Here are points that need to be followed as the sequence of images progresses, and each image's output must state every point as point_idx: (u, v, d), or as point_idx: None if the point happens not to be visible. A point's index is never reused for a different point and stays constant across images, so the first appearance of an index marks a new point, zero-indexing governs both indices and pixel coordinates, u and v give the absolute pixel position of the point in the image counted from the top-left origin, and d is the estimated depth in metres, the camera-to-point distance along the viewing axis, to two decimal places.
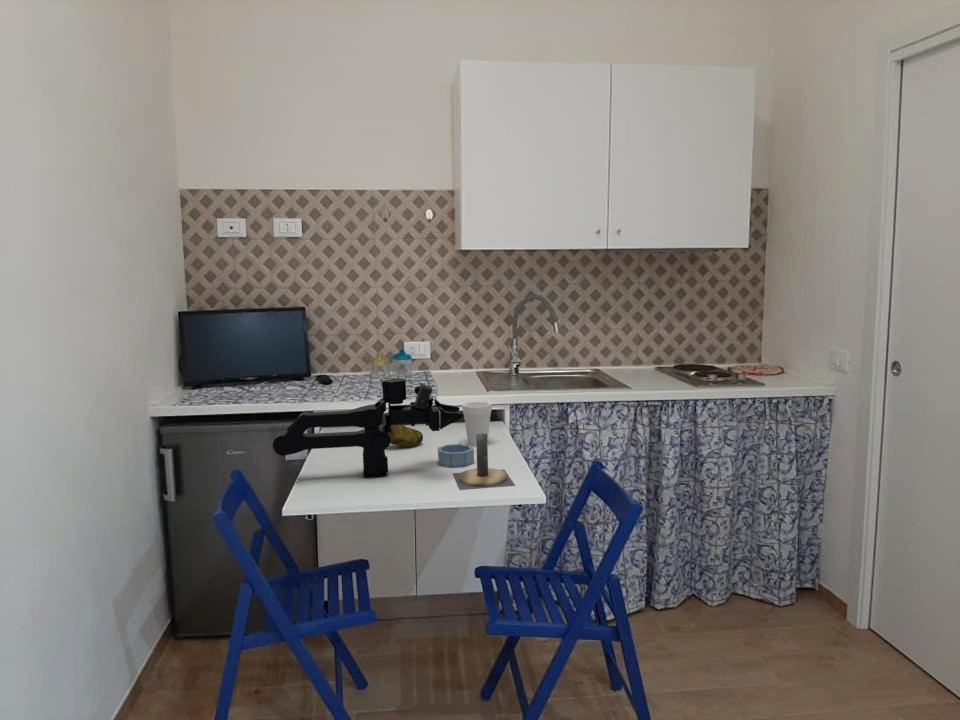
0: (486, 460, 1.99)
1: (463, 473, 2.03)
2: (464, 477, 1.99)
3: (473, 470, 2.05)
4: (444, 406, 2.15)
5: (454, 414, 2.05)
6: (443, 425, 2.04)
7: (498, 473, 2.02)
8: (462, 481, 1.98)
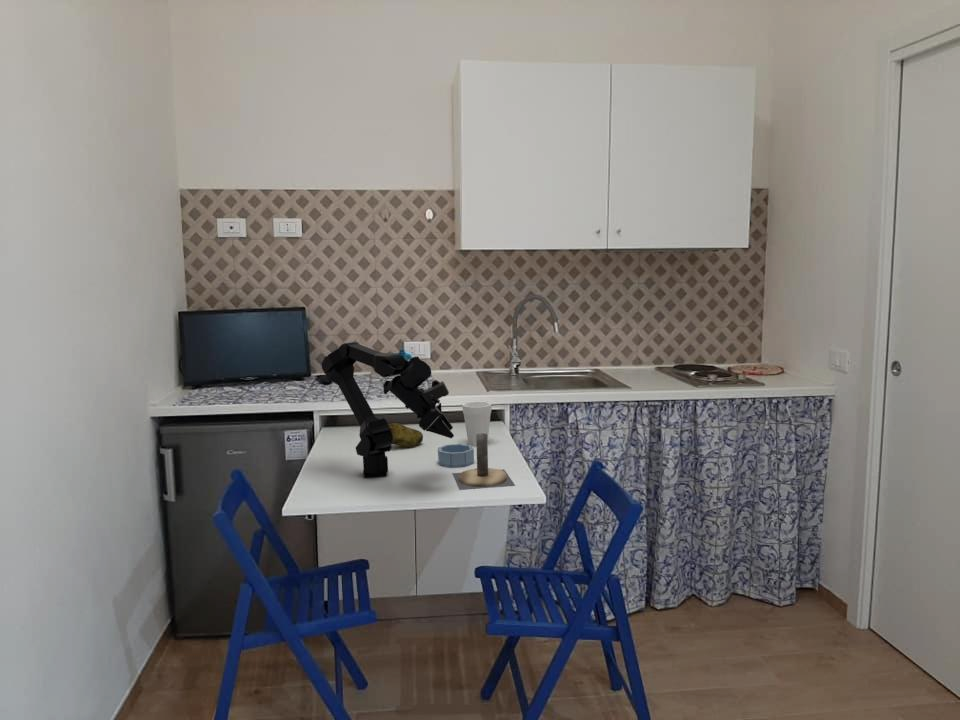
0: (486, 460, 1.99)
1: (463, 473, 2.03)
2: (464, 477, 1.99)
3: (473, 470, 2.05)
4: (442, 416, 2.03)
5: (446, 429, 1.93)
6: (430, 429, 1.92)
7: (498, 473, 2.02)
8: (462, 481, 1.98)
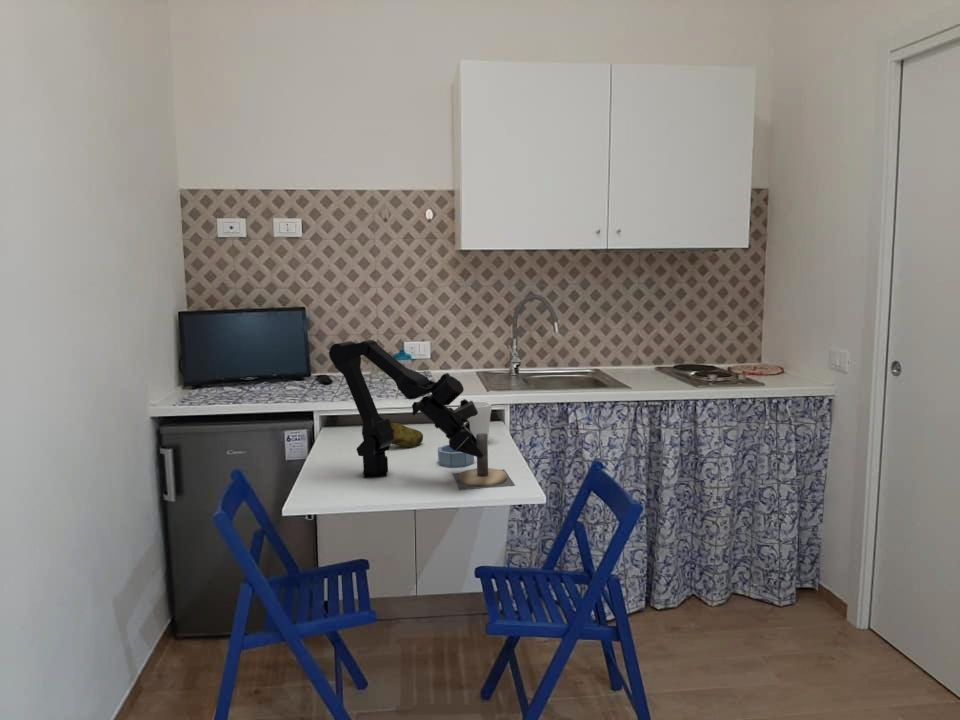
0: (486, 460, 1.99)
1: (463, 473, 2.03)
2: (464, 477, 1.99)
3: (473, 470, 2.05)
4: None
5: (476, 449, 1.94)
6: (460, 449, 1.93)
7: (498, 474, 2.02)
8: (462, 481, 1.98)
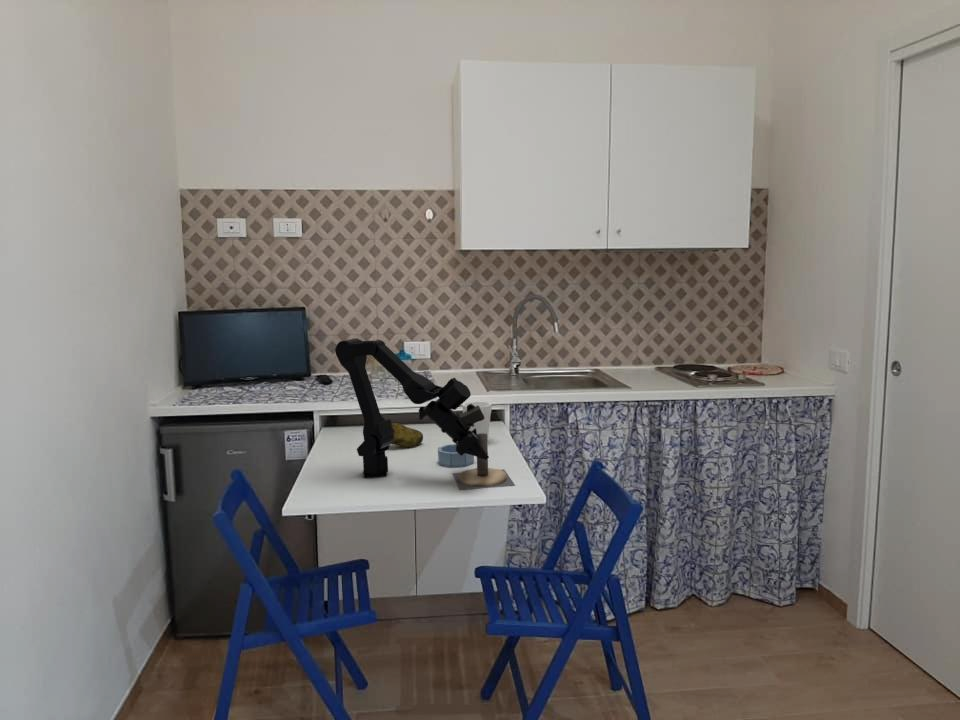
0: (486, 460, 1.99)
1: (463, 473, 2.03)
2: (464, 477, 1.99)
3: (473, 470, 2.05)
4: None
5: (482, 451, 1.97)
6: (466, 451, 1.96)
7: (498, 473, 2.02)
8: (462, 481, 1.98)
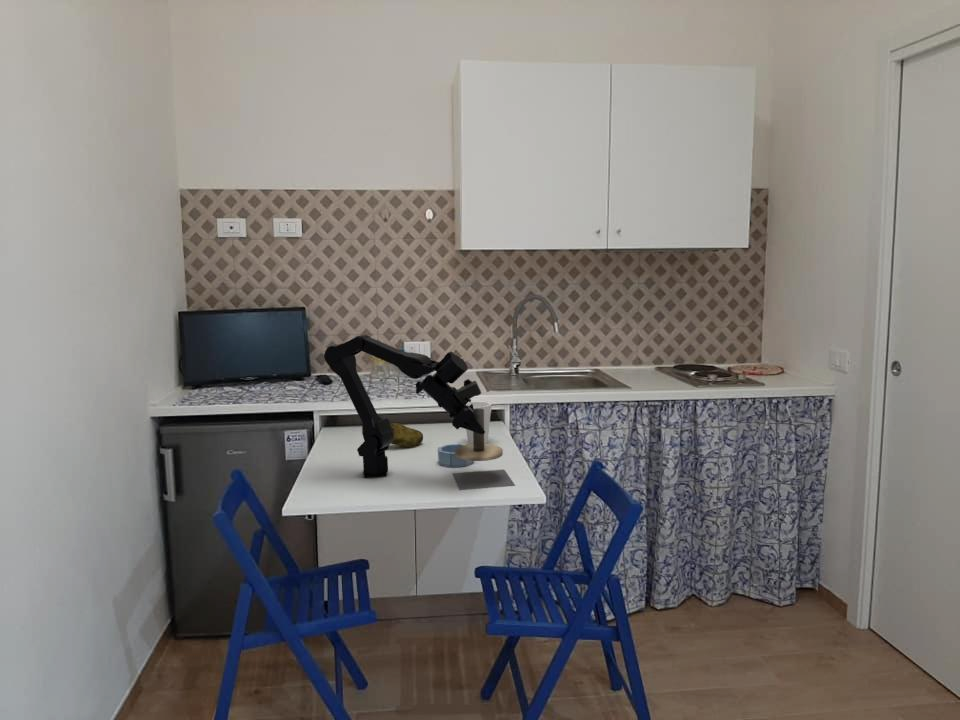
0: (482, 435, 2.00)
1: (460, 448, 2.03)
2: (460, 452, 2.00)
3: (469, 445, 2.06)
4: None
5: (478, 425, 1.98)
6: (462, 425, 1.96)
7: (494, 449, 2.02)
8: (458, 455, 1.98)
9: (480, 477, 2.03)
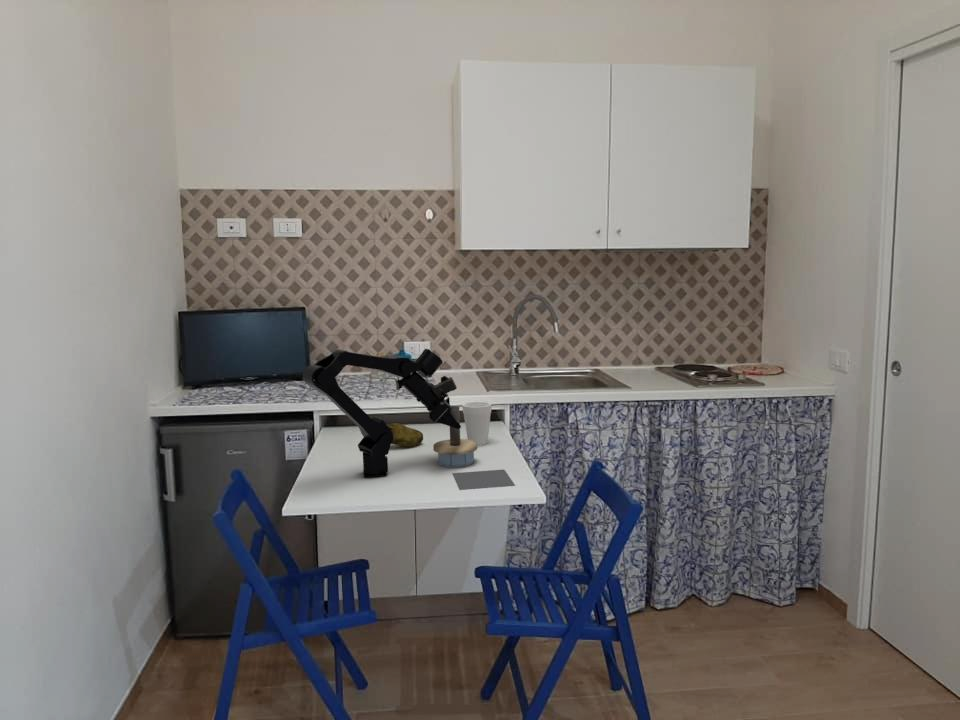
0: (458, 431, 2.16)
1: (437, 443, 2.19)
2: (438, 446, 2.15)
3: (447, 441, 2.21)
4: None
5: (454, 420, 2.11)
6: (440, 421, 2.09)
7: (470, 443, 2.18)
8: (436, 450, 2.14)
9: (480, 477, 2.03)
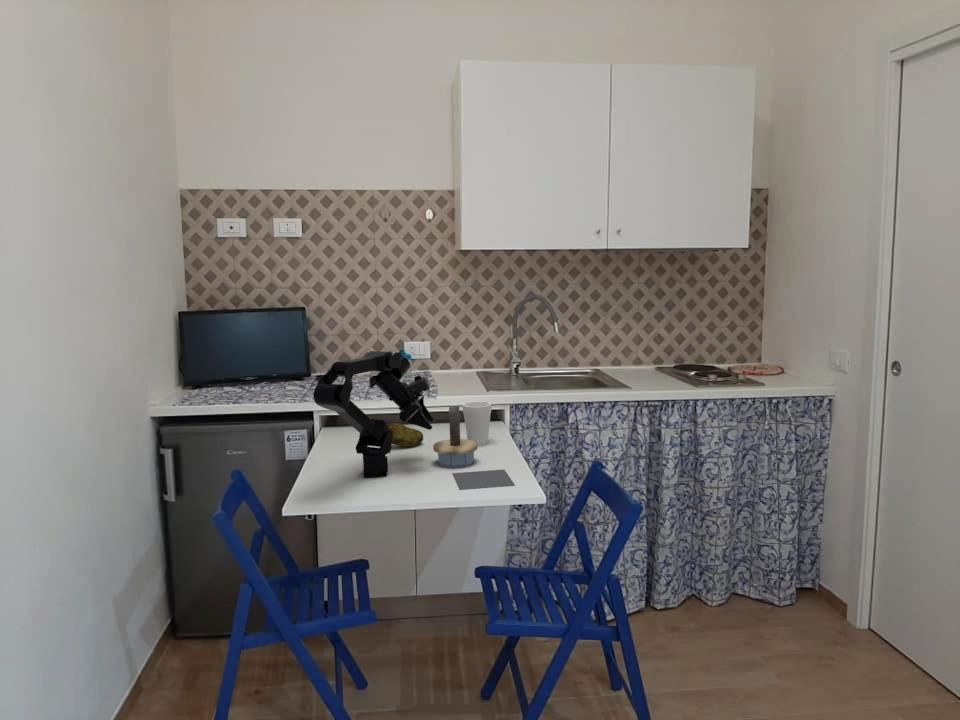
0: (458, 431, 2.16)
1: (437, 443, 2.19)
2: (438, 446, 2.15)
3: (447, 441, 2.21)
4: (424, 408, 2.20)
5: (425, 421, 2.10)
6: (410, 421, 2.09)
7: (470, 443, 2.18)
8: (436, 450, 2.14)
9: (480, 477, 2.03)
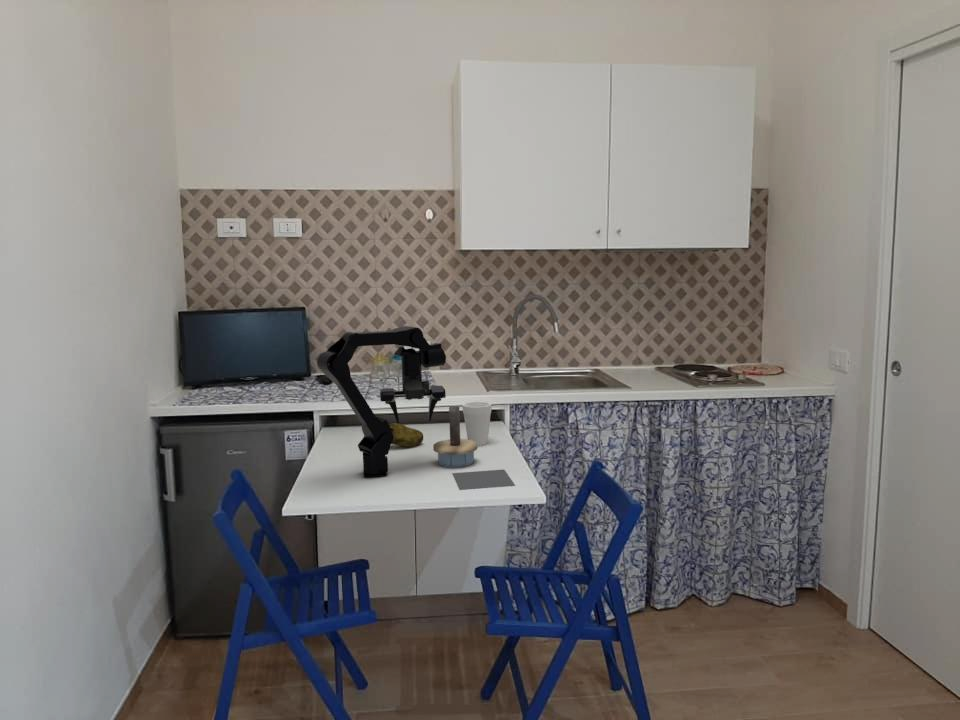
0: (458, 431, 2.16)
1: (437, 443, 2.19)
2: (438, 446, 2.15)
3: (447, 441, 2.21)
4: (429, 407, 2.14)
5: (394, 414, 2.13)
6: None
7: (470, 443, 2.18)
8: (436, 450, 2.14)
9: (480, 477, 2.03)
